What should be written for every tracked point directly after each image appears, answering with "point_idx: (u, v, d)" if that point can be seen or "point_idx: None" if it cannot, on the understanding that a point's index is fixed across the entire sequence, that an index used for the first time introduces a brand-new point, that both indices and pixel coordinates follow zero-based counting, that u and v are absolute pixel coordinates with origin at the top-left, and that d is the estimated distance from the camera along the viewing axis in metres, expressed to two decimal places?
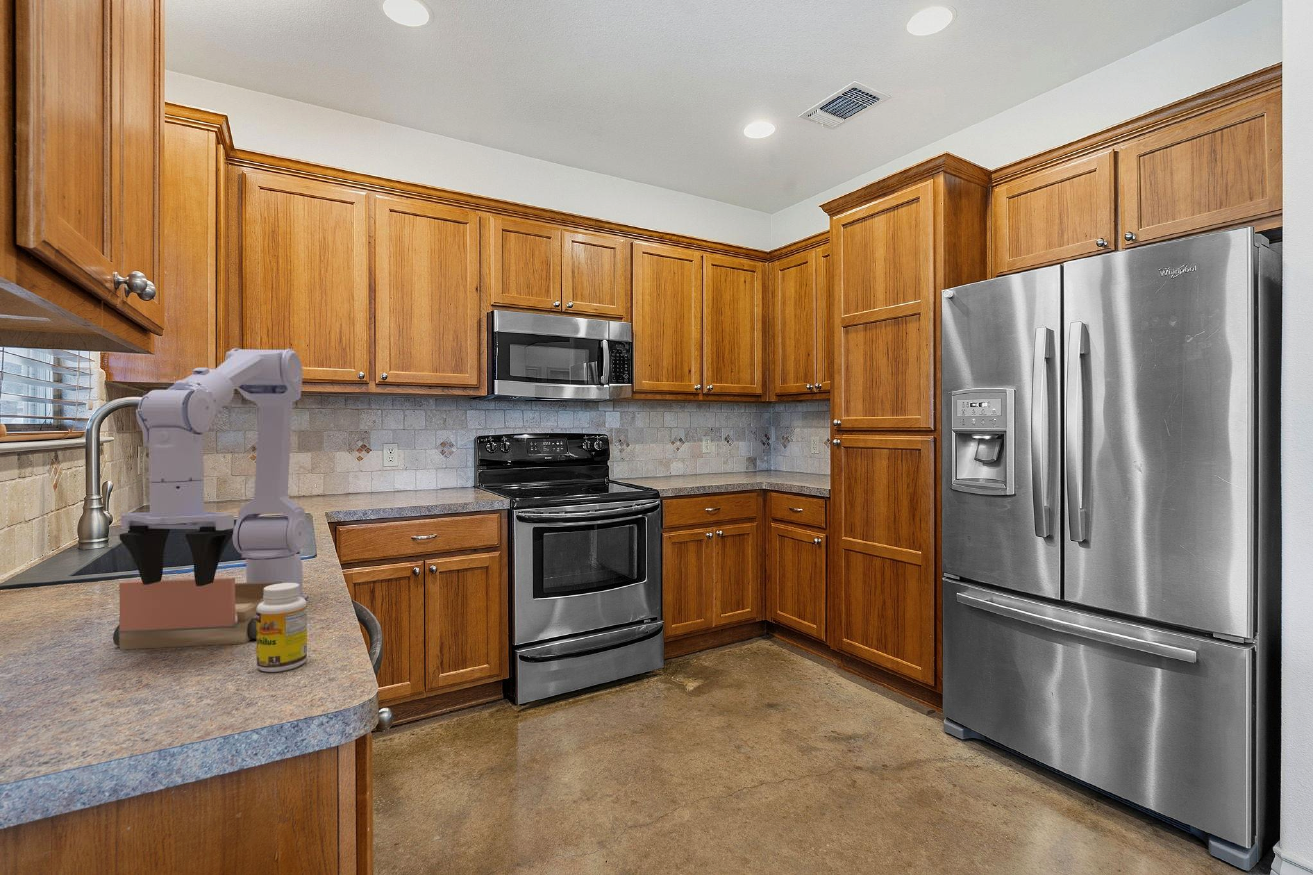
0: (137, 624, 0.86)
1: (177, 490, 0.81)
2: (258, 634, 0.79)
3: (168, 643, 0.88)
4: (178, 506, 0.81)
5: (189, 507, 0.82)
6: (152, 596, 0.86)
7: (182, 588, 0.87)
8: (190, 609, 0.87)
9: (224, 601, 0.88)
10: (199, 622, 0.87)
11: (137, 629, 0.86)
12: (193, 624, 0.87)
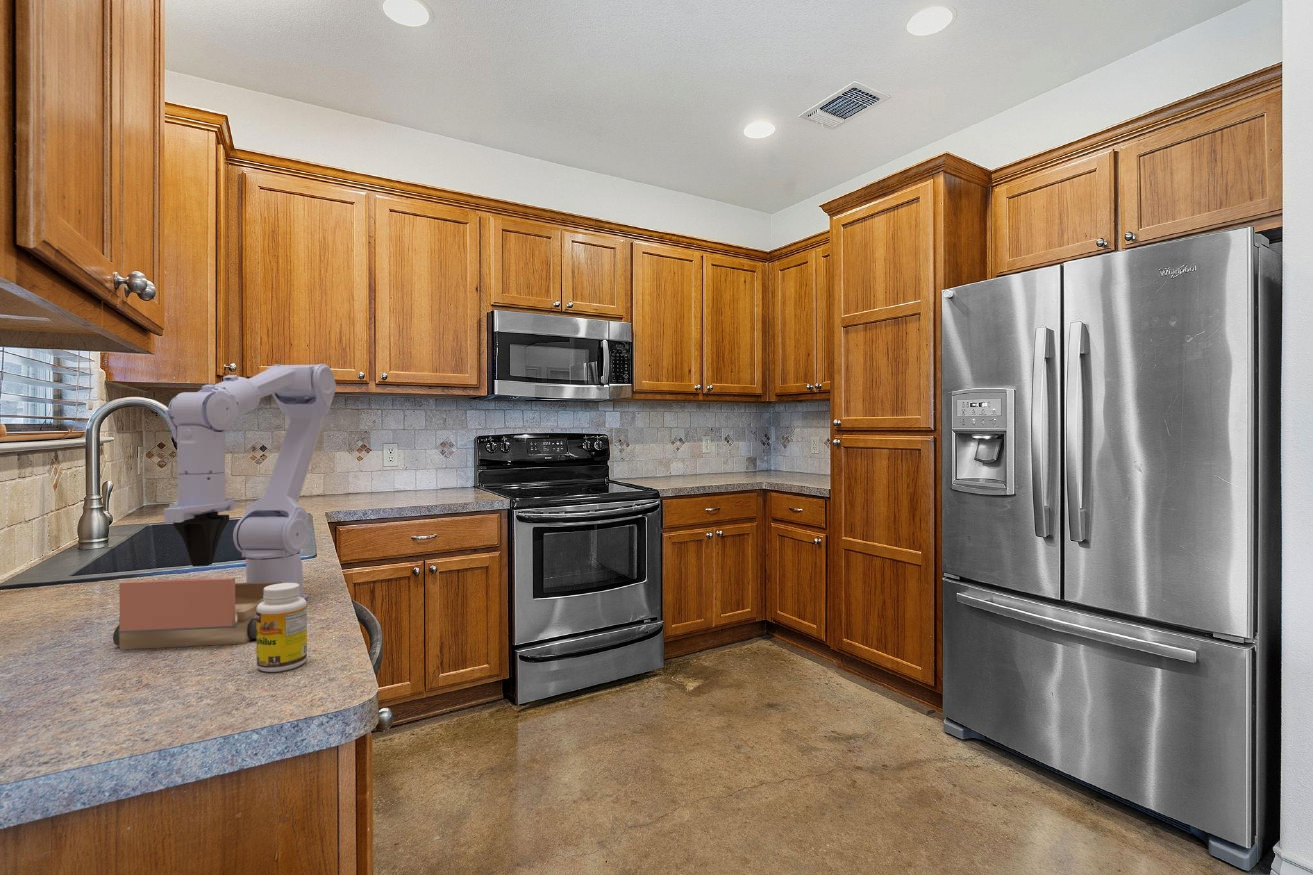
0: (137, 624, 0.86)
1: (178, 481, 0.91)
2: (258, 634, 0.79)
3: (168, 643, 0.88)
4: (178, 496, 0.91)
5: (183, 498, 0.90)
6: (152, 596, 0.86)
7: (182, 588, 0.87)
8: (190, 609, 0.87)
9: (224, 601, 0.88)
10: (199, 622, 0.87)
11: (137, 629, 0.86)
12: (193, 624, 0.87)
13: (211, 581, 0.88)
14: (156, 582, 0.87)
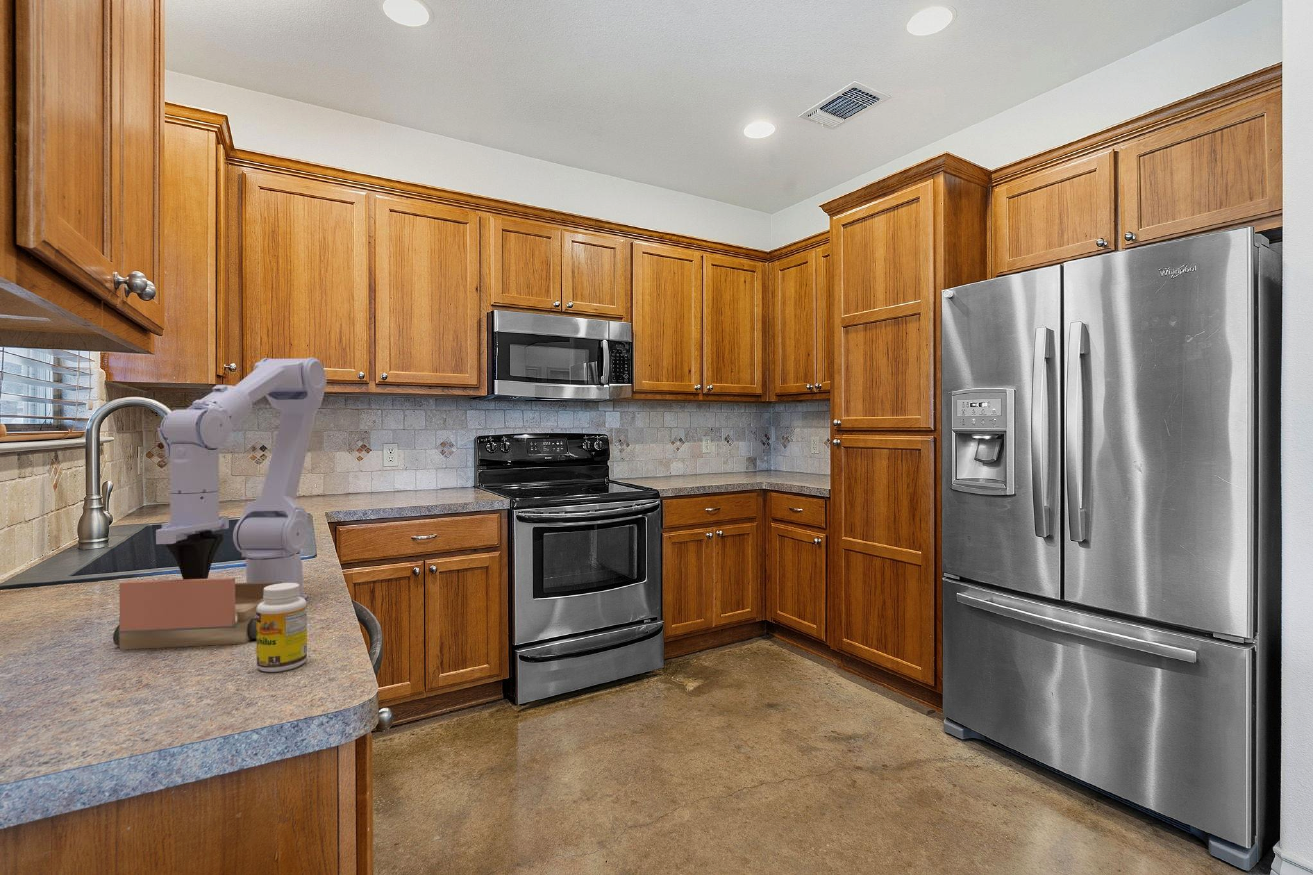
0: (137, 624, 0.86)
1: (171, 501, 0.89)
2: (258, 634, 0.79)
3: (168, 643, 0.88)
4: (171, 515, 0.89)
5: (176, 517, 0.89)
6: (152, 596, 0.86)
7: (182, 588, 0.87)
8: (190, 609, 0.87)
9: (224, 601, 0.88)
10: (199, 622, 0.87)
11: (137, 629, 0.86)
12: (193, 624, 0.87)
13: (211, 581, 0.88)
14: (156, 582, 0.87)
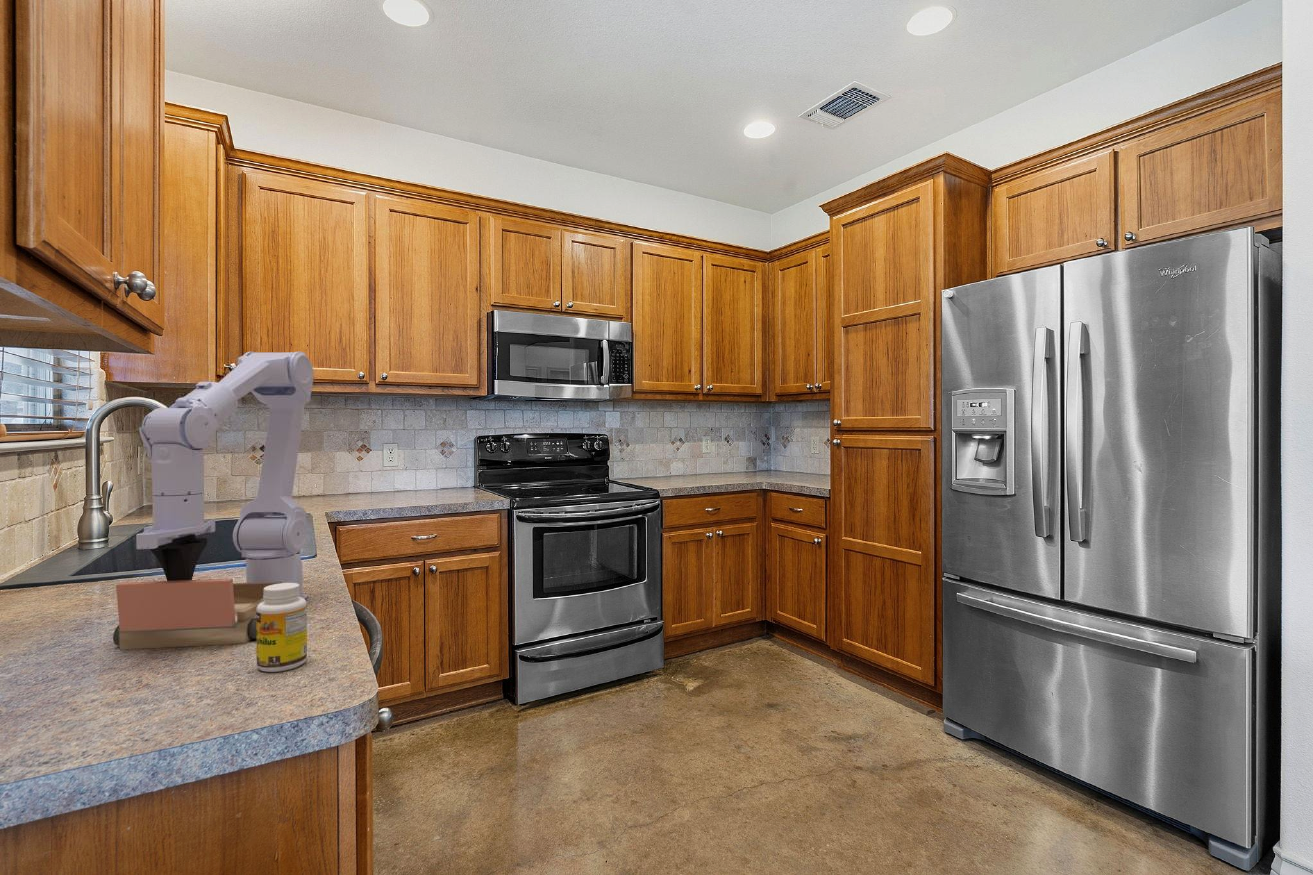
0: (136, 624, 0.86)
1: (153, 503, 0.85)
2: (258, 634, 0.79)
3: (168, 643, 0.88)
4: (153, 519, 0.85)
5: (158, 521, 0.85)
6: (150, 597, 0.86)
7: (180, 590, 0.86)
8: (189, 610, 0.87)
9: (223, 602, 0.87)
10: (199, 623, 0.87)
11: (137, 629, 0.86)
12: (193, 624, 0.87)
13: (208, 583, 0.87)
14: (153, 584, 0.86)
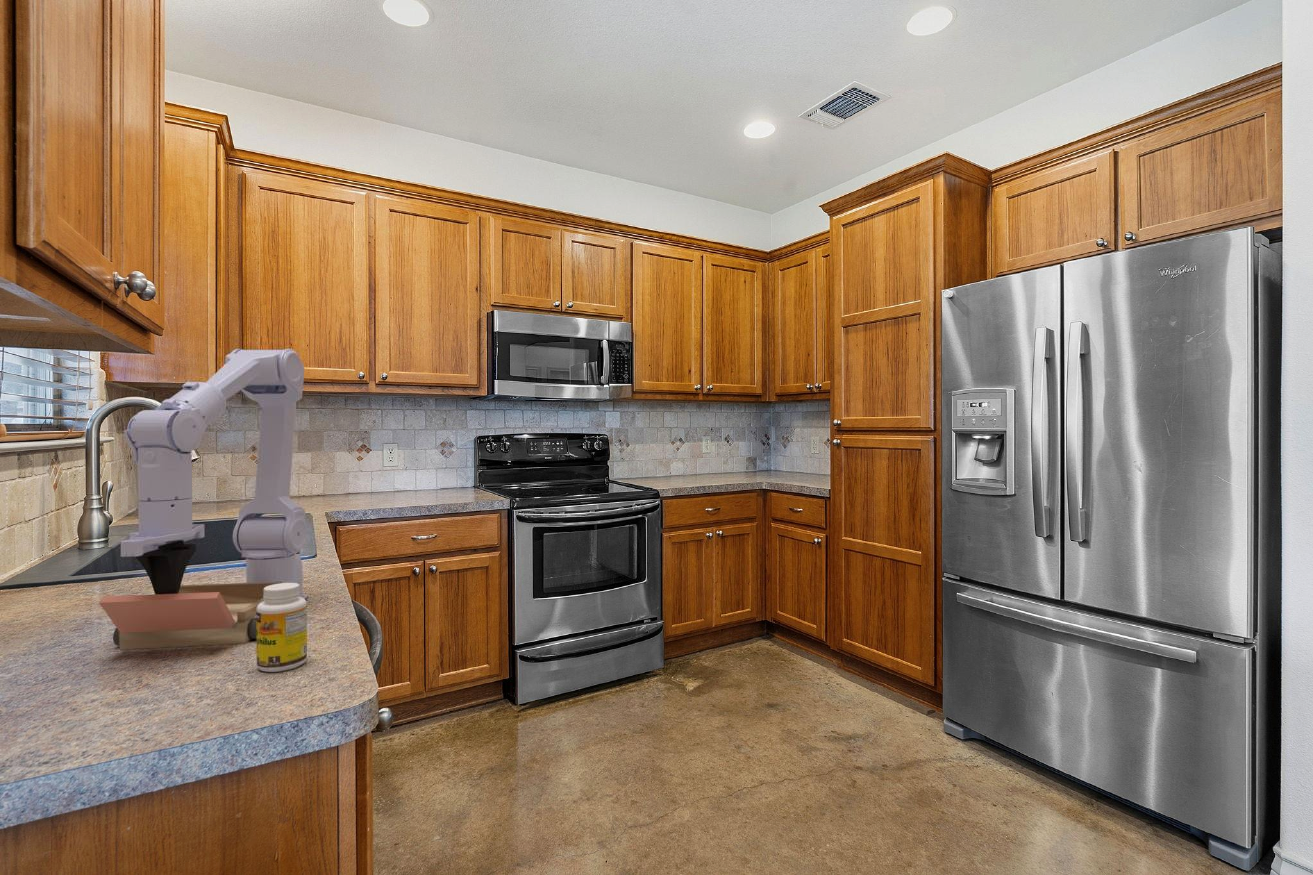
0: (135, 628, 0.86)
1: (139, 509, 0.82)
2: (258, 634, 0.79)
3: (168, 643, 0.88)
4: (139, 525, 0.82)
5: (144, 527, 0.82)
6: (139, 610, 0.84)
7: (168, 605, 0.84)
8: (184, 618, 0.86)
9: (216, 612, 0.86)
10: (198, 626, 0.87)
11: (137, 631, 0.86)
12: (192, 627, 0.87)
13: (196, 599, 0.84)
14: (138, 601, 0.83)
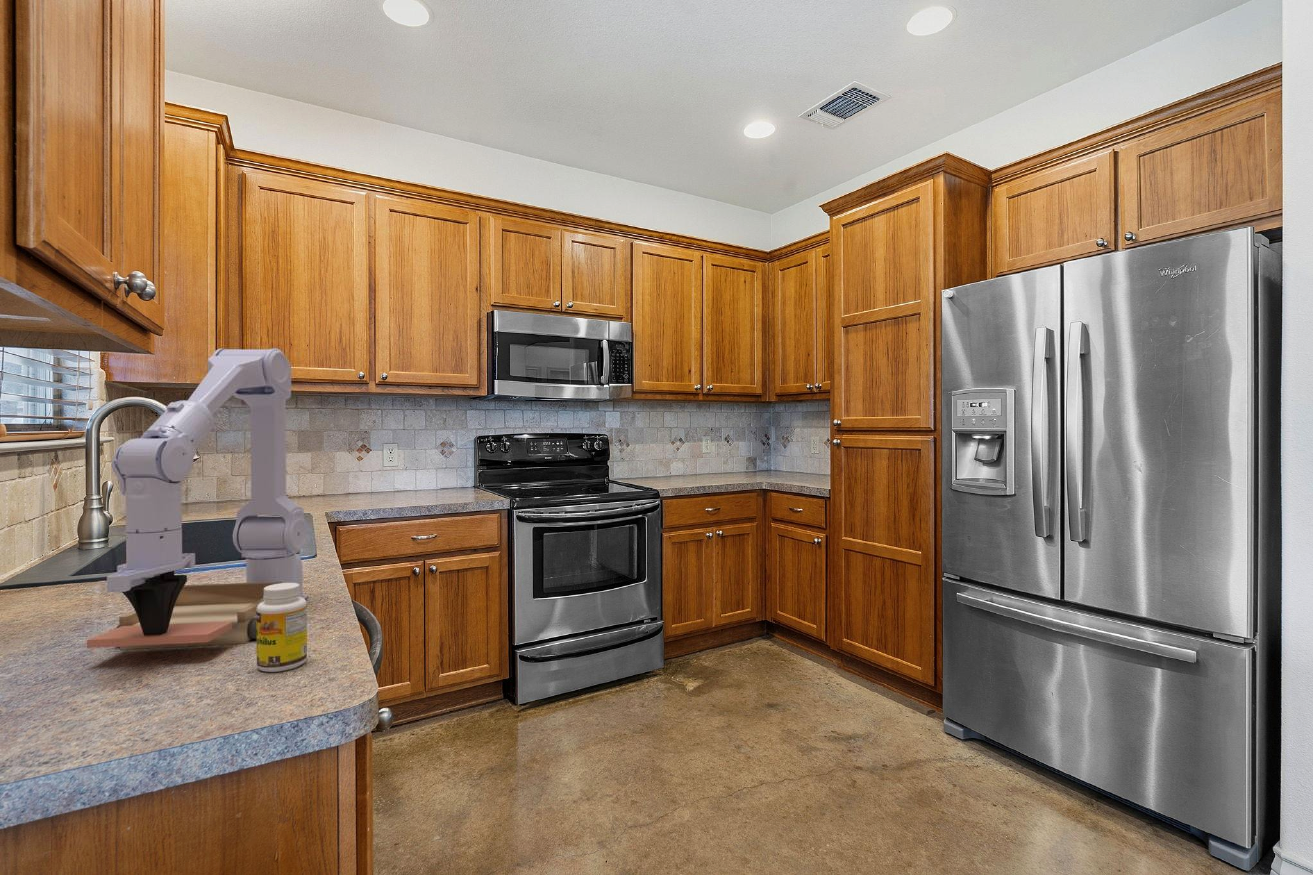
0: None
1: (126, 541, 0.80)
2: (258, 634, 0.79)
3: None
4: (127, 557, 0.80)
5: (132, 560, 0.80)
6: None
7: None
8: None
9: None
10: None
11: None
12: None
13: (187, 642, 0.82)
14: (127, 645, 0.81)
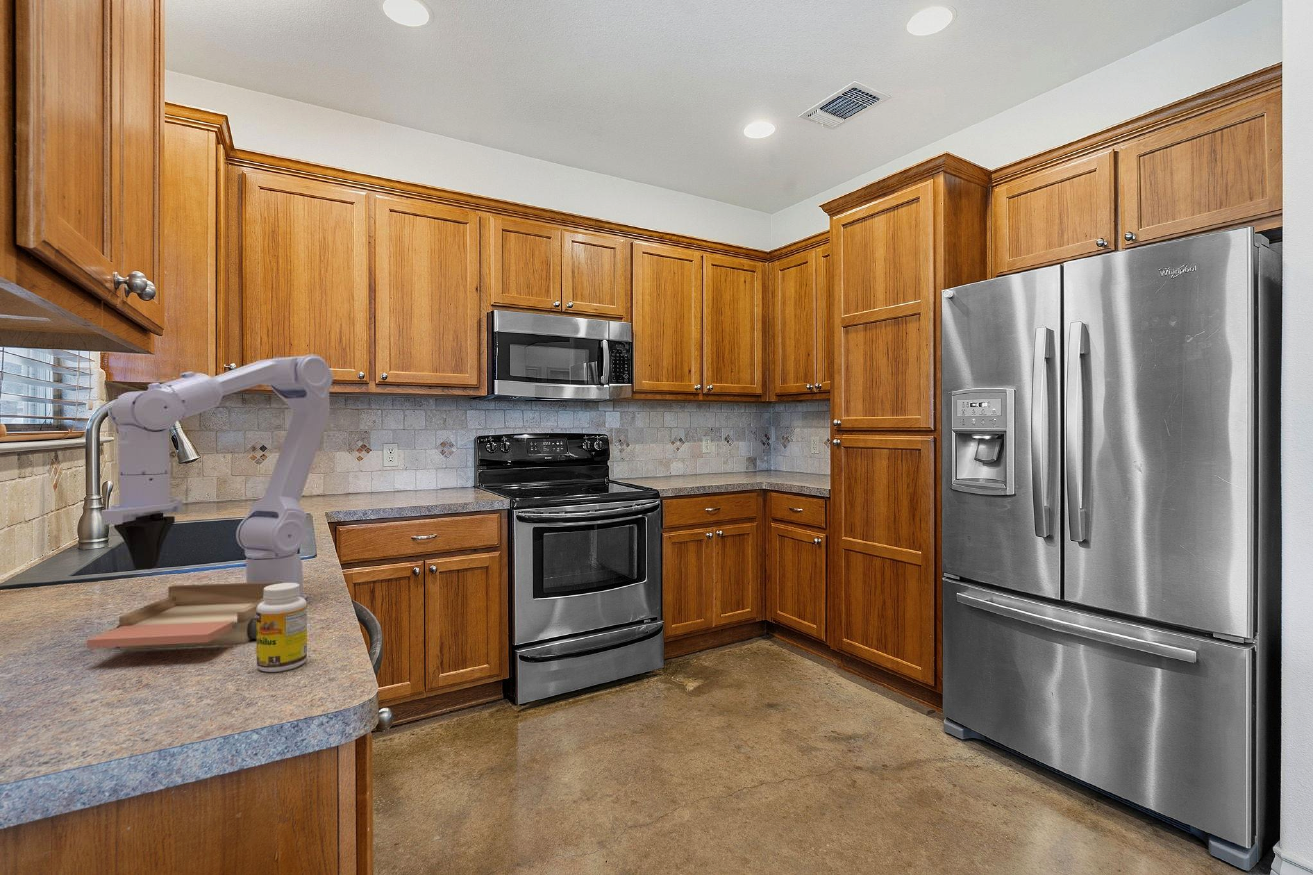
0: None
1: (119, 482, 0.89)
2: (258, 634, 0.79)
3: None
4: (120, 497, 0.89)
5: (124, 499, 0.88)
6: None
7: None
8: None
9: None
10: None
11: None
12: None
13: (187, 642, 0.82)
14: (127, 645, 0.81)
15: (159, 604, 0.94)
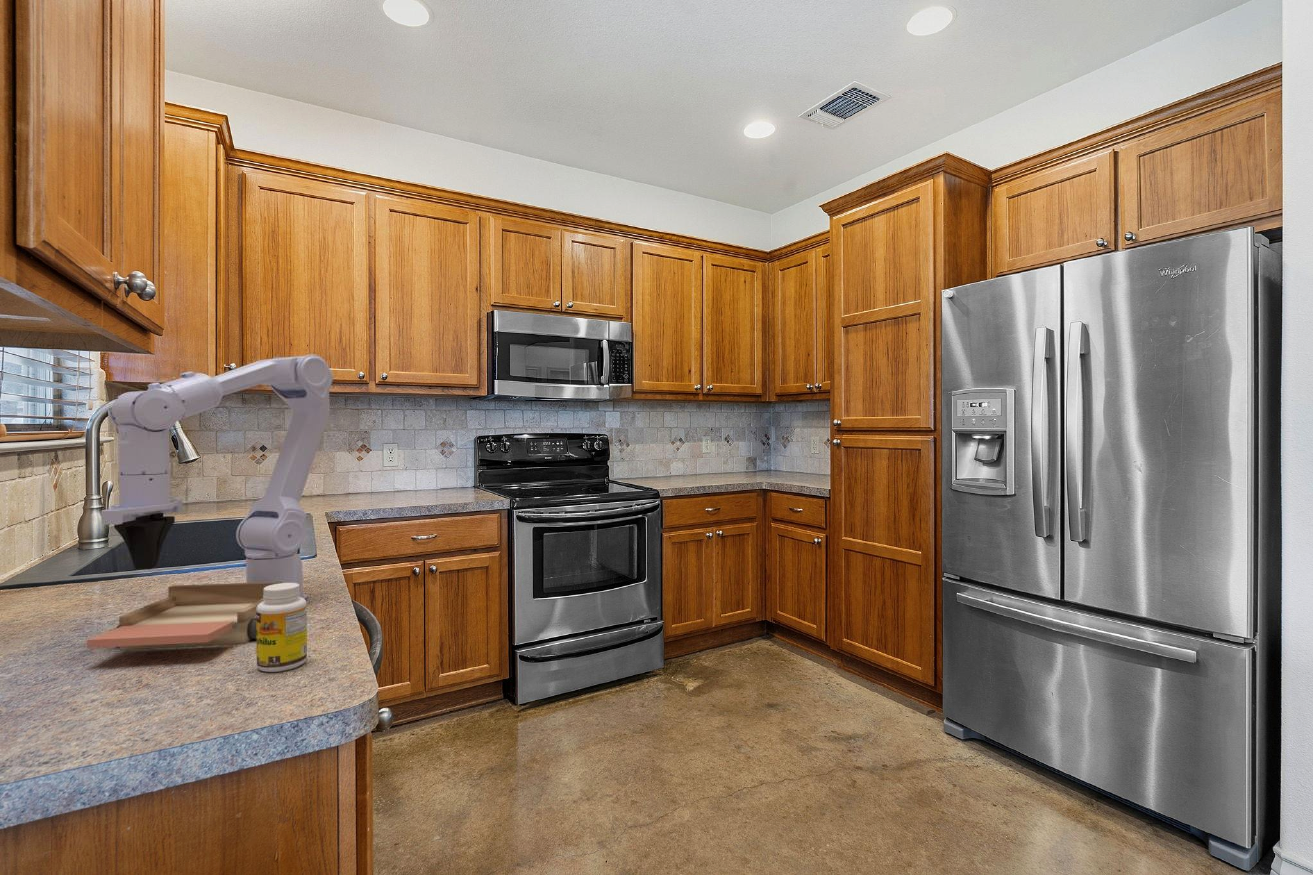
0: None
1: (119, 482, 0.89)
2: (258, 634, 0.79)
3: None
4: (120, 497, 0.89)
5: (124, 499, 0.88)
6: None
7: None
8: None
9: None
10: None
11: None
12: None
13: (187, 642, 0.82)
14: (127, 645, 0.81)
15: (159, 604, 0.94)
